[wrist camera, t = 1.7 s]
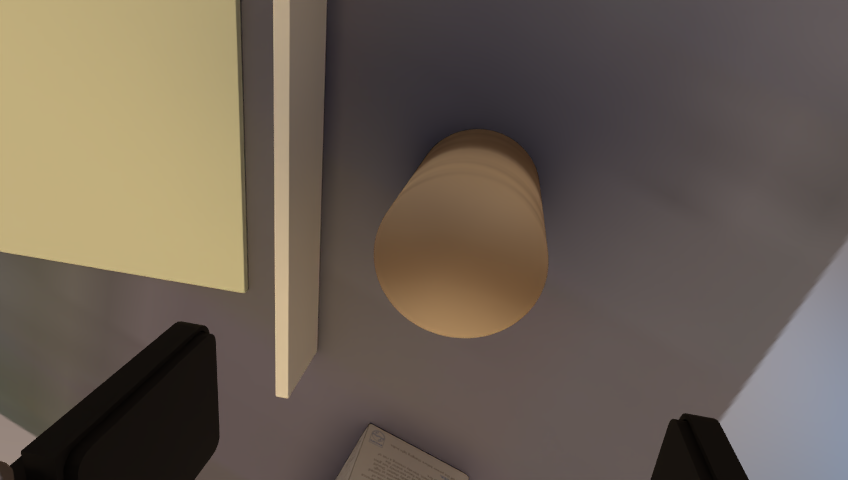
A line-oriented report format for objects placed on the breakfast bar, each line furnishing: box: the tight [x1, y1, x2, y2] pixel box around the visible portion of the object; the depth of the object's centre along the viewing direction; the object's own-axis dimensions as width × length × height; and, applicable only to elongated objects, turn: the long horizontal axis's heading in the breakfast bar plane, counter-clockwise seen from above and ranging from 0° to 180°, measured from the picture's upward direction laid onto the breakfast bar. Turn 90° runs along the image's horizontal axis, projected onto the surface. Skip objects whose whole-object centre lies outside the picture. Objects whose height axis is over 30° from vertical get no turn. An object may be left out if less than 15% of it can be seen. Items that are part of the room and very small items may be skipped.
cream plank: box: [273, 0, 327, 398], centre depth 24 cm, size 20×1×4 cm, turn 174°
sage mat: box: [0, 0, 248, 293], centre depth 26 cm, size 14×14×1 cm
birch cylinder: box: [374, 129, 548, 338], centre depth 21 cm, size 6×6×8 cm
